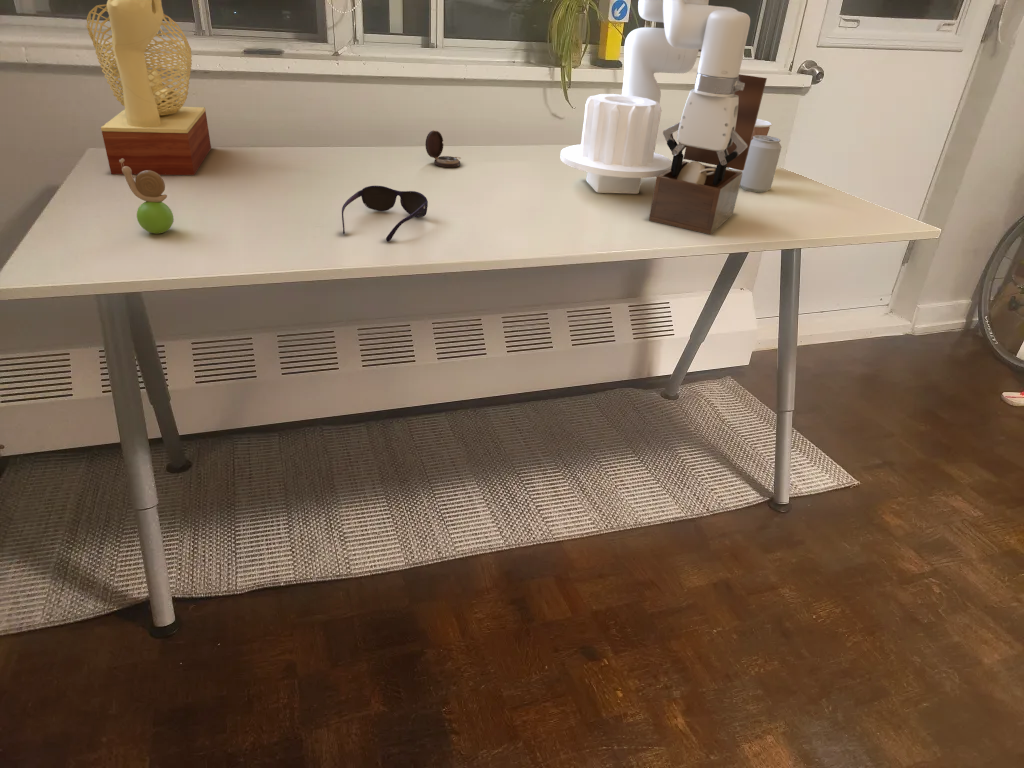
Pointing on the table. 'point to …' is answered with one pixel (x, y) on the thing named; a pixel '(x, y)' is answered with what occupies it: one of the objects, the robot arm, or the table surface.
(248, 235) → the table surface
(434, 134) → the compass
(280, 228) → the table surface
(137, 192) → the snail figurine
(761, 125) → the coffee cup
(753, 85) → the chest lid
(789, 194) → the table surface
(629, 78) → the robot arm
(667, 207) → the chest
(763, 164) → the can
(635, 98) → the flanged gear
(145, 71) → the cream lattice sculpture
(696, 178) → the beige rounded piece
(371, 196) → the sunglasses
